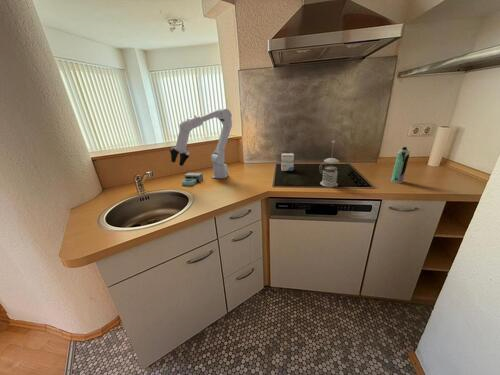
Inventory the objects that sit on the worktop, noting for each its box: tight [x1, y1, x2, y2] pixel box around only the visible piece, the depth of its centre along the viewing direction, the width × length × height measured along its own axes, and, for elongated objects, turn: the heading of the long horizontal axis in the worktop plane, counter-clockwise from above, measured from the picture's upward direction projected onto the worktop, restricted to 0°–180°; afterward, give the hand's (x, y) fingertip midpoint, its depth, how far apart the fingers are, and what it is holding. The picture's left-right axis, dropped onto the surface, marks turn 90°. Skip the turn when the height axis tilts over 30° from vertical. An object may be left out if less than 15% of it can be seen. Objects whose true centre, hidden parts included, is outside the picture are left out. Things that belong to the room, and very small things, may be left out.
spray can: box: [390, 146, 411, 184], centre depth 114 cm, size 6×6×20 cm
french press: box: [319, 140, 340, 188], centre depth 115 cm, size 10×12×25 cm
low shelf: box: [184, 172, 204, 183], centre depth 133 cm, size 10×5×4 cm, turn 77°
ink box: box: [280, 153, 295, 172], centre depth 145 cm, size 8×5×12 cm, turn 84°
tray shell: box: [181, 178, 198, 187], centre depth 128 cm, size 7×6×2 cm
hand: (177, 163), depth 122 cm, fingers open, 7 cm apart
